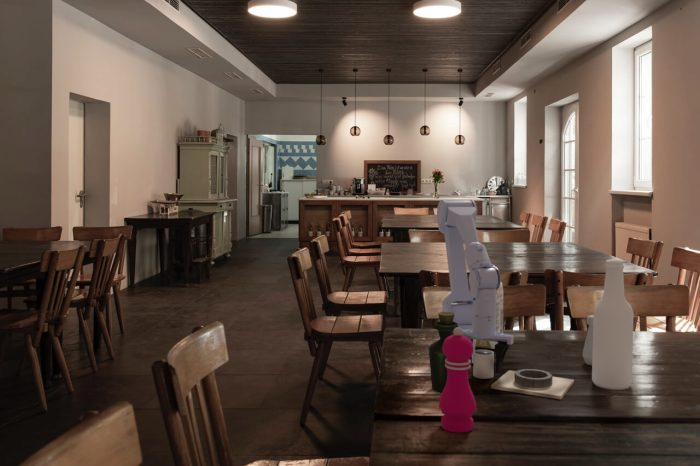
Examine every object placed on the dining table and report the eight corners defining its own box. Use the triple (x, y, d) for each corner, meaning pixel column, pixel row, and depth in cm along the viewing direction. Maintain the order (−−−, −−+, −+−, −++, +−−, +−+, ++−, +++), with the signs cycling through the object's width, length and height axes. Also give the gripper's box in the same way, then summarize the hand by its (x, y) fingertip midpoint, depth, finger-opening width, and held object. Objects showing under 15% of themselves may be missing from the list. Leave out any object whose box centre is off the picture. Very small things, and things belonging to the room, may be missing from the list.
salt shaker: (607, 367, 168) (608, 318, 167) (584, 366, 170) (585, 317, 169) (603, 361, 174) (604, 314, 173) (580, 360, 175) (582, 313, 174)
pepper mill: (435, 421, 130) (435, 323, 129) (470, 419, 131) (471, 323, 130) (443, 434, 123) (444, 331, 122) (480, 433, 124) (481, 331, 122)
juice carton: (504, 344, 193) (505, 281, 192) (494, 350, 186) (495, 285, 185) (480, 341, 198) (481, 279, 196) (470, 347, 190) (470, 283, 189)
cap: (470, 376, 161) (470, 353, 160) (477, 371, 165) (477, 348, 165) (489, 379, 158) (490, 355, 158) (496, 374, 162) (496, 351, 162)
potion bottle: (470, 391, 149) (471, 315, 148) (441, 396, 145) (441, 318, 144) (449, 382, 156) (450, 309, 155) (421, 387, 153) (422, 312, 151)
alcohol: (629, 381, 156) (633, 258, 154) (633, 392, 148) (636, 263, 146) (591, 377, 159) (594, 257, 157) (592, 388, 151) (595, 261, 149)
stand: (491, 388, 151) (491, 376, 151) (508, 373, 163) (509, 362, 163) (560, 399, 143) (561, 387, 143) (574, 383, 155) (574, 371, 155)
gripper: (450, 315, 161) (450, 368, 162) (507, 321, 153) (507, 377, 154) (461, 310, 167) (460, 362, 168) (516, 316, 159) (515, 369, 160)
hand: (483, 368), depth 161 cm, fingers open, 7 cm apart
